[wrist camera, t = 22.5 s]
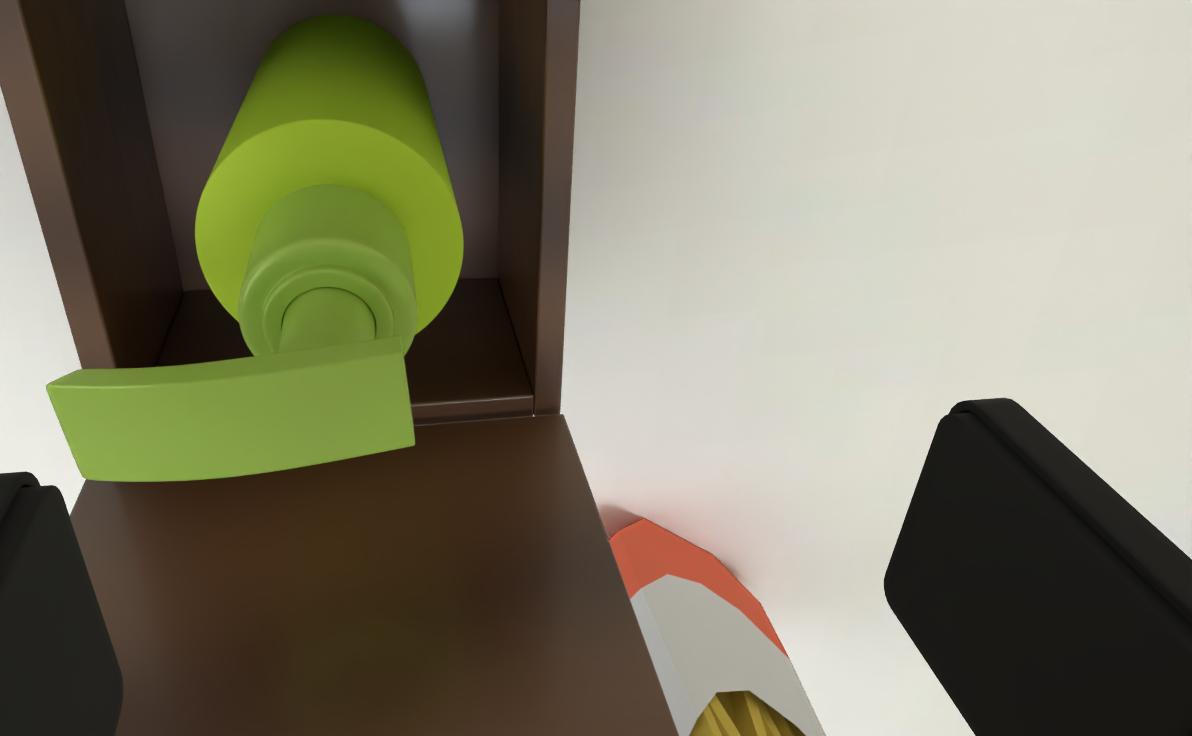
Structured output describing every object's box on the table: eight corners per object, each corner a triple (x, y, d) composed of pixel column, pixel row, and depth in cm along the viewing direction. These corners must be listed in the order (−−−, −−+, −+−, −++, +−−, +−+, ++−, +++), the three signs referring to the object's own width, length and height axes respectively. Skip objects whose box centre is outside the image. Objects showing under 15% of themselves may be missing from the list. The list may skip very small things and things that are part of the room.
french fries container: (612, 492, 44) (740, 827, 29) (748, 566, 49) (915, 882, 34) (556, 551, 45) (652, 901, 30) (695, 617, 51) (834, 943, 36)
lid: (-237, 1204, 11) (-96, 1325, 14) (762, 963, 14) (720, 1099, 17) (97, 450, 25) (135, 582, 27) (563, 413, 28) (557, 534, 31)
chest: (64, -173, 25) (-78, -179, 17) (522, -141, 29) (588, -132, 20) (167, 302, 34) (104, 452, 25) (516, 286, 37) (560, 415, 28)
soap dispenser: (205, 19, 28) (-20, 278, 11) (418, 10, 29) (493, 232, 13) (244, 190, 31) (112, 590, 15) (435, 176, 32) (513, 526, 16)
